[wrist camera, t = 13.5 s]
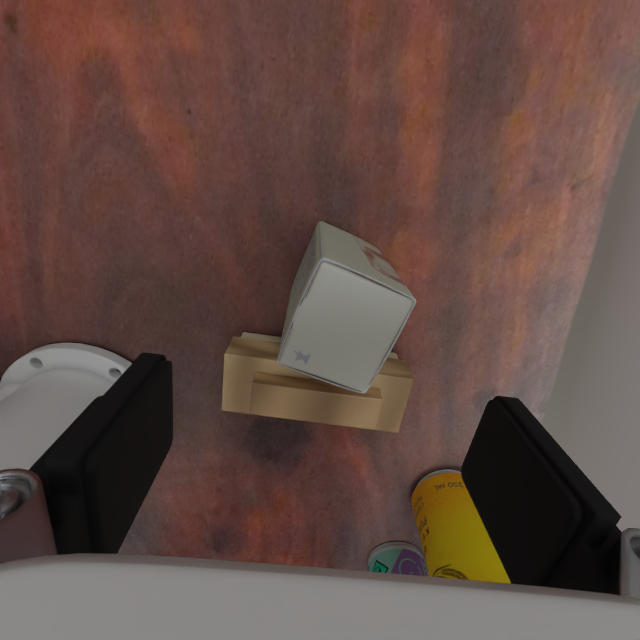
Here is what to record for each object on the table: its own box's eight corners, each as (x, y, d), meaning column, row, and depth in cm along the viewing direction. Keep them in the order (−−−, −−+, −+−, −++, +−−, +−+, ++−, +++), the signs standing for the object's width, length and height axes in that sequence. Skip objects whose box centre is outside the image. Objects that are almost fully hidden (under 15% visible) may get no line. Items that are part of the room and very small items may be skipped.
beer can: (397, 480, 32) (453, 727, 18) (463, 454, 30) (578, 699, 17) (425, 522, 34) (494, 771, 20) (488, 499, 32) (608, 748, 19)
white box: (348, 312, 25) (362, 401, 16) (289, 288, 24) (269, 366, 15) (383, 243, 23) (422, 300, 14) (320, 215, 22) (318, 255, 13)
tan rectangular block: (234, 378, 27) (216, 422, 23) (237, 327, 26) (219, 363, 21) (389, 399, 28) (401, 446, 24) (402, 350, 26) (419, 390, 22)
